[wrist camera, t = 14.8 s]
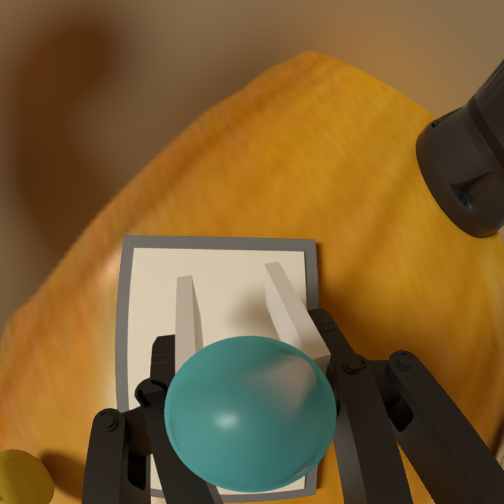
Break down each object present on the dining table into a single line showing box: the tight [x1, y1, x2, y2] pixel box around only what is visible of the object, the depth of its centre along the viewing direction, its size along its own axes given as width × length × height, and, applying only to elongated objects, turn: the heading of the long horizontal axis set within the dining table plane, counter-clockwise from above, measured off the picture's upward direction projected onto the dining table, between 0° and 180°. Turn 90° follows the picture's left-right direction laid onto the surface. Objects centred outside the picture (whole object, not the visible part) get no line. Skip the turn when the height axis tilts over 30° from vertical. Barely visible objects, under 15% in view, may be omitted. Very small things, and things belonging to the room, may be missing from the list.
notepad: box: [115, 235, 319, 503], centre depth 17 cm, size 14×20×1 cm
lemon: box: [0, 449, 54, 504], centre depth 9 cm, size 6×6×8 cm
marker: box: [164, 336, 337, 493], centre depth 10 cm, size 4×4×12 cm
